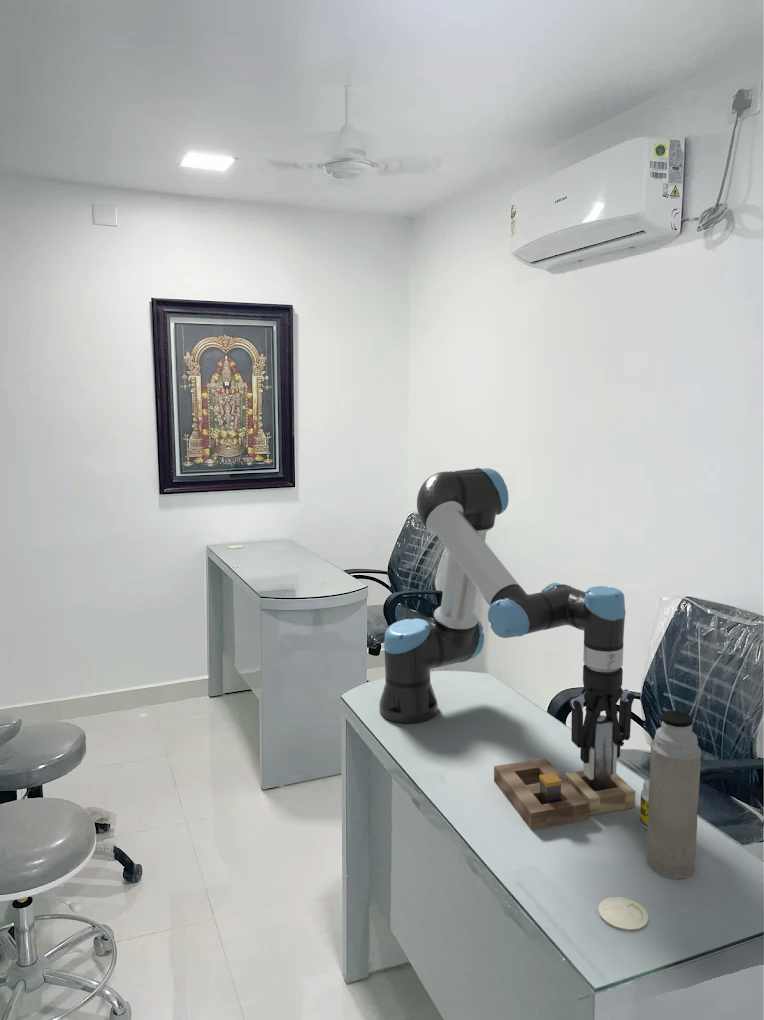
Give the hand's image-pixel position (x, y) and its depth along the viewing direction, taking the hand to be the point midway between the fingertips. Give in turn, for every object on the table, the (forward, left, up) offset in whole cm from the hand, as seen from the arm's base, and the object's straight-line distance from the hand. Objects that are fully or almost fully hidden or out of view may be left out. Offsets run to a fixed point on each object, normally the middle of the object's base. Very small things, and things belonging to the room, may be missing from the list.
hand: (599, 774), depth 149 cm
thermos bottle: (+22, +1, -5) cm, 23 cm away
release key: (+2, -12, -5) cm, 13 cm away
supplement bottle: (+11, +5, -5) cm, 13 cm away
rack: (0, 0, -5) cm, 5 cm away
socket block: (-3, -12, -5) cm, 13 cm away
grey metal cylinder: (0, 0, -4) cm, 4 cm away
